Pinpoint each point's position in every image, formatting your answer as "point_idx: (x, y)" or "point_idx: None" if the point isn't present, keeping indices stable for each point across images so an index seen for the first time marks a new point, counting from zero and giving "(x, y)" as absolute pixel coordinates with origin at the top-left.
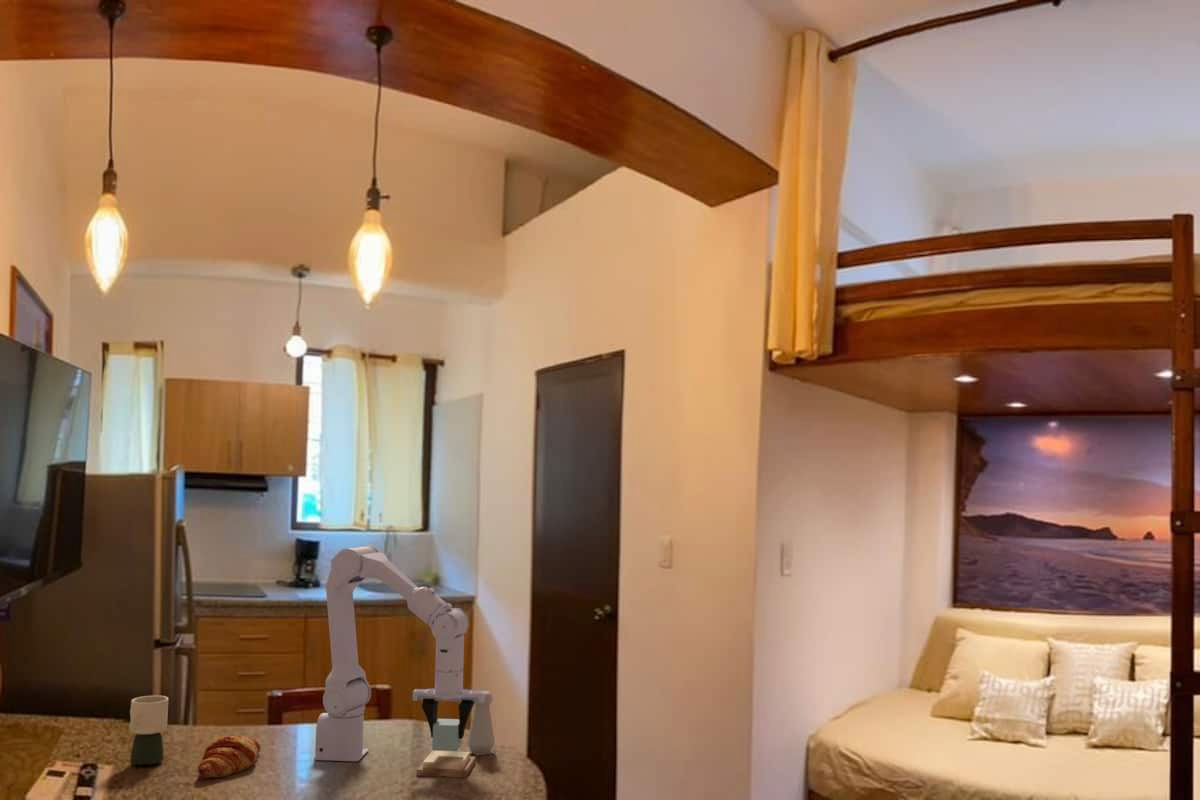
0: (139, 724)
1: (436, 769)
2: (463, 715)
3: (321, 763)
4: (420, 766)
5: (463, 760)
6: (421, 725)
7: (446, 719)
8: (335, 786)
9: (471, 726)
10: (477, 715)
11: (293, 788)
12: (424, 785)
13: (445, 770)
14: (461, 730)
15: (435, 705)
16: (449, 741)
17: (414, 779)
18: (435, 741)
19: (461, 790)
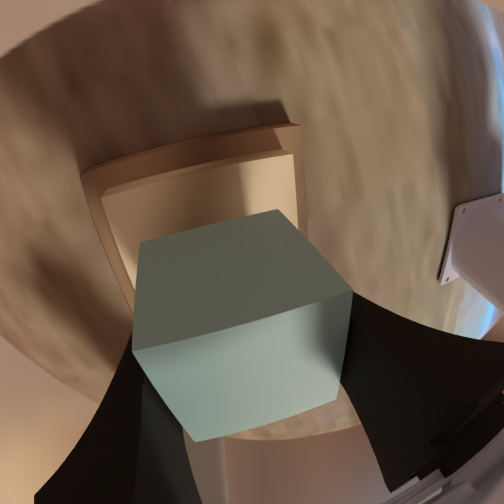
0: None
1: (217, 148)
2: (99, 449)
3: (495, 180)
4: (298, 166)
5: (118, 240)
6: (353, 420)
7: (287, 411)
8: (451, 15)
9: (217, 442)
10: (201, 478)
11: (493, 18)
12: (214, 18)
13: (170, 147)
14: (129, 350)
15: (406, 445)
16: (186, 257)
17: (282, 77)
18: (279, 233)
19: (48, 25)
